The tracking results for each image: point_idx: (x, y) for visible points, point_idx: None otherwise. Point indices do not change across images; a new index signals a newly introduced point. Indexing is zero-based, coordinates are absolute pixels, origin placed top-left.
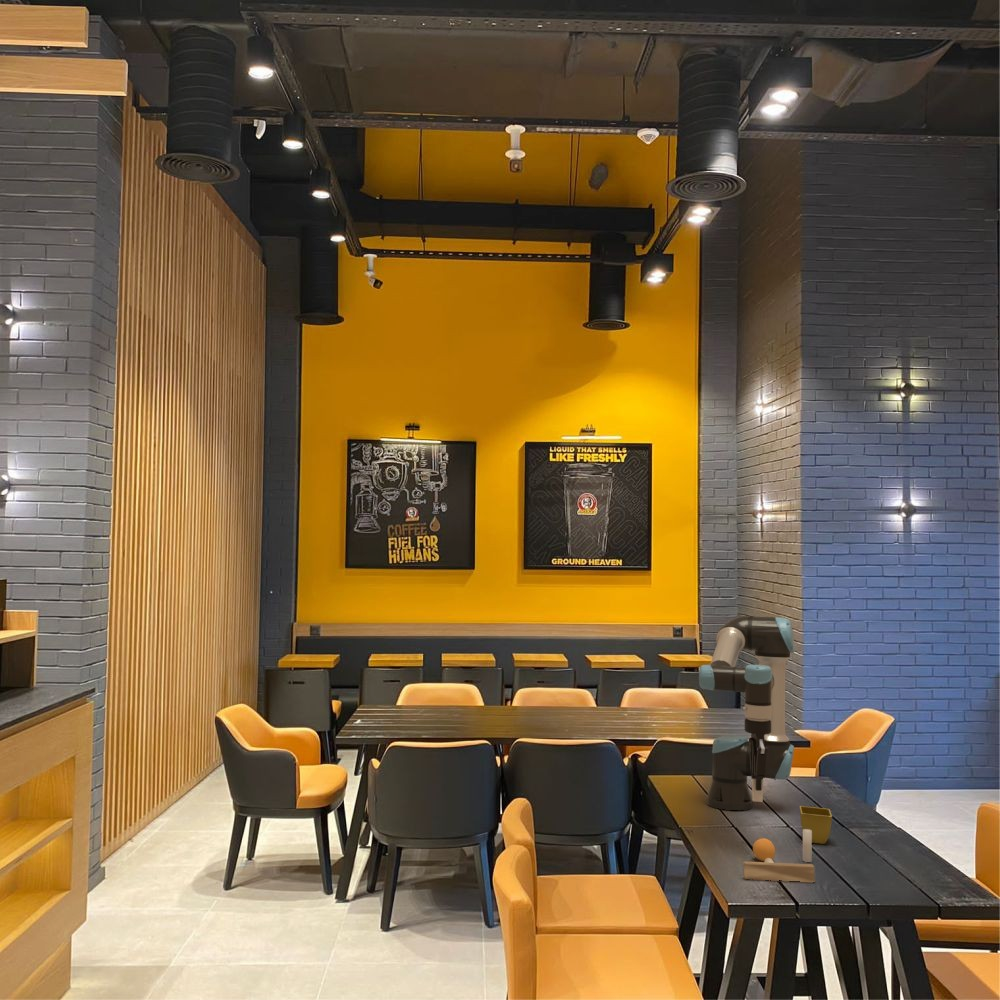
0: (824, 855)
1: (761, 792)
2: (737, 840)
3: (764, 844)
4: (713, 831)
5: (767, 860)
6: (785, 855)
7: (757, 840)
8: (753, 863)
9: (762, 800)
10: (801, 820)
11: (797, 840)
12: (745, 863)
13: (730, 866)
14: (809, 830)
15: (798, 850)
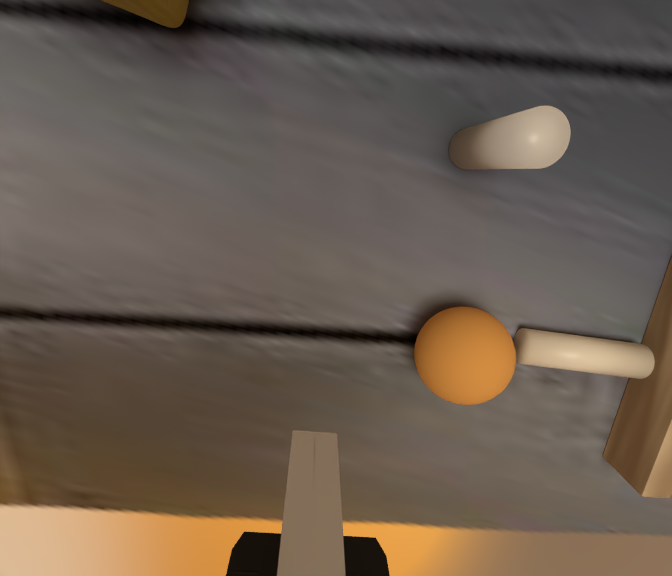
0: (388, 11)
1: (340, 504)
2: (187, 358)
3: (508, 379)
4: (70, 419)
5: (548, 364)
6: (384, 219)
7: (466, 400)
8: (670, 469)
9: (336, 441)
10: (145, 12)
11: (147, 58)
12: (664, 495)
13: (496, 466)
14: (545, 122)
15: (313, 125)
